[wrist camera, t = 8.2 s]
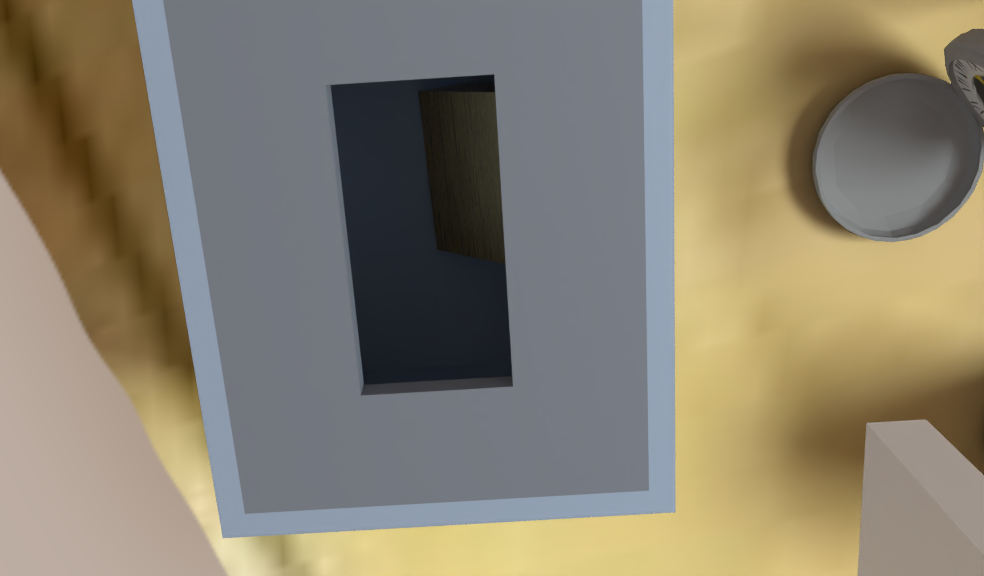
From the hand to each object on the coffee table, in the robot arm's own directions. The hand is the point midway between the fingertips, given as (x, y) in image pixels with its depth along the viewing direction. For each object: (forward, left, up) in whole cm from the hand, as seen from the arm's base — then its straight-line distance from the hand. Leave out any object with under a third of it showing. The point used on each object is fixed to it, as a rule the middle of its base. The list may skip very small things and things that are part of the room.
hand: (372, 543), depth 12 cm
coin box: (0, 0, -27) cm, 27 cm away
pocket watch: (0, -19, -27) cm, 33 cm away
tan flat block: (+1, 0, -25) cm, 25 cm away
